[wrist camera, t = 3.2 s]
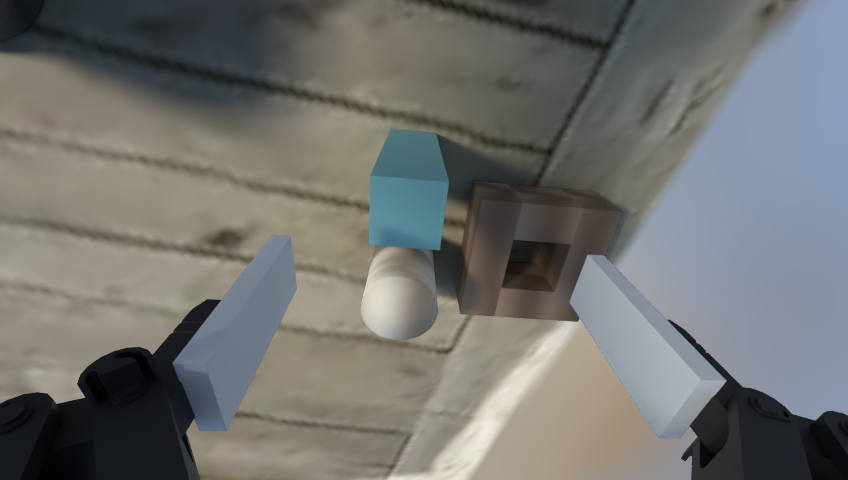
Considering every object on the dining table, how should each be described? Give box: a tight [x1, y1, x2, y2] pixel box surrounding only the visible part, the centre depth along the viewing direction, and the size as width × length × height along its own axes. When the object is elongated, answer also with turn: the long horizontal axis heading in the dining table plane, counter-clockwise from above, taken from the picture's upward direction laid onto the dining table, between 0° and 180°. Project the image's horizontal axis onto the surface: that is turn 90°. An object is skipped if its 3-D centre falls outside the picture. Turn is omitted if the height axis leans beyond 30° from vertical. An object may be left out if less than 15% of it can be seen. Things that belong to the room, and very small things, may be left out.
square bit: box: [369, 129, 449, 250], centre depth 24 cm, size 4×4×14 cm
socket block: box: [455, 181, 623, 322], centre depth 32 cm, size 12×12×5 cm
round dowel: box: [361, 245, 438, 340], centre depth 30 cm, size 6×6×10 cm
